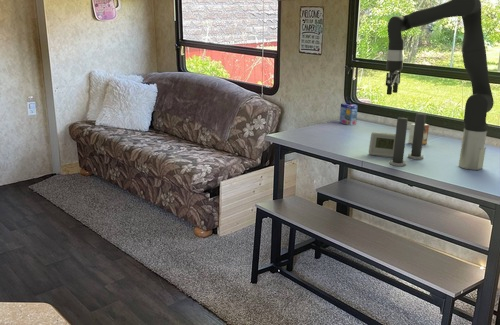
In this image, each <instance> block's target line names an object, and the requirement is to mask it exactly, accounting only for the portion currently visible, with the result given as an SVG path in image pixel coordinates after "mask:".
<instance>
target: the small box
mask: <svg viewBox="0 0 500 325" xmlns="http://www.w3.org/2000/svg"><path fill="white" fill-rule="evenodd" d="M414 127H415V123H410V125H409V135H408V140H407V142H408V144H411V145H412V143H413V135H414ZM429 130H430V124H427V123H425V126H424V134H423V142H422V145H428V137H429V136H428V135H429Z"/></svg>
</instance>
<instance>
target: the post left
mask: <svg viewBox="0 0 500 325" xmlns="http://www.w3.org/2000/svg"><path fill="white" fill-rule="evenodd" d="M408 121H409V118H407V117H397V120H396V129H395V134H396V136H395V145H394V154H393V158H392V159H391V160H389V164H390V165H391V166H393V167H395V166H396V167H405V166H406V164H407V163H406V161H404V156H405V147H406V139H407V128H408Z"/></svg>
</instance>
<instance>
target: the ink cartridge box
mask: <svg viewBox="0 0 500 325" xmlns="http://www.w3.org/2000/svg"><path fill="white" fill-rule="evenodd" d="M358 106H359V105H358V104H353V103H352V102H351V101H350V100H345V102H344V103H340V112H339V124H340V123H341V124H344V125H348V126H355V125H358V124H357V122H358Z"/></svg>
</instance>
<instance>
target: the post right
mask: <svg viewBox="0 0 500 325" xmlns="http://www.w3.org/2000/svg"><path fill="white" fill-rule="evenodd" d="M426 117H427V114H426V113H423V112H422V113H421V112H418V113H417V112H416V113H415V119H414V120H415V121H414V124H415V127H414V135H413V143H412V144H411V151H410V153H408V156H407V157H408V158H409V159H412V160H416V161H417V160H424V155H422V149H423V147H422V146H423V144H422V142H423V134H424V126H425V124H426Z"/></svg>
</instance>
